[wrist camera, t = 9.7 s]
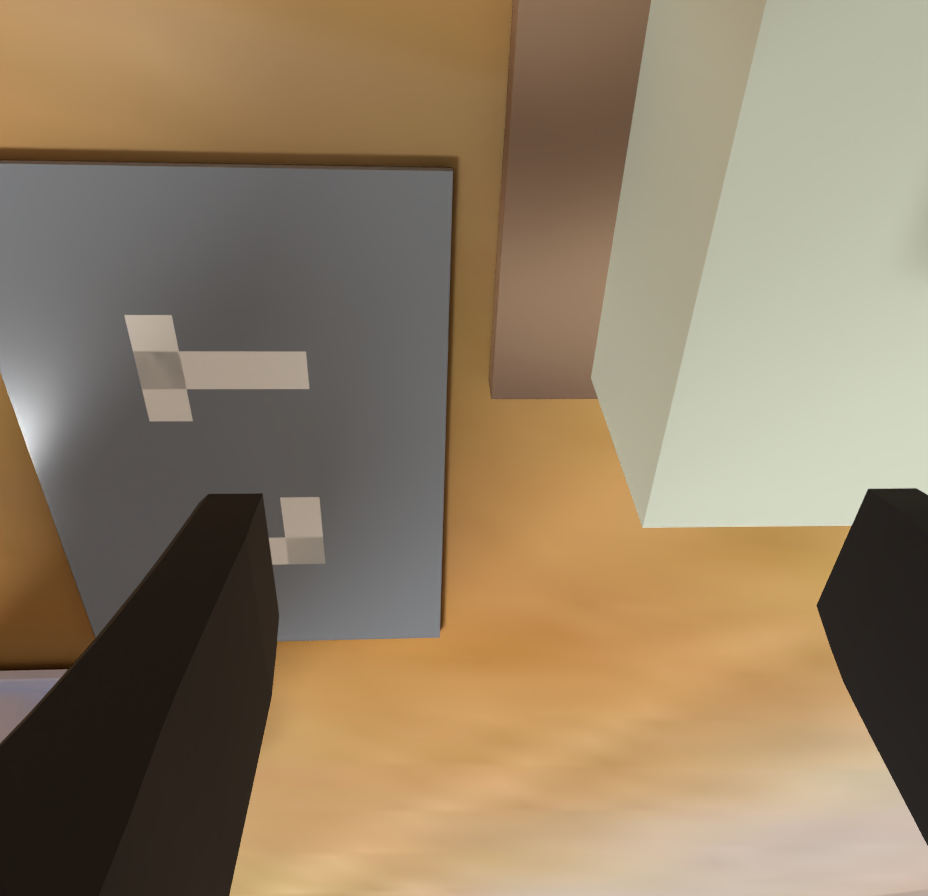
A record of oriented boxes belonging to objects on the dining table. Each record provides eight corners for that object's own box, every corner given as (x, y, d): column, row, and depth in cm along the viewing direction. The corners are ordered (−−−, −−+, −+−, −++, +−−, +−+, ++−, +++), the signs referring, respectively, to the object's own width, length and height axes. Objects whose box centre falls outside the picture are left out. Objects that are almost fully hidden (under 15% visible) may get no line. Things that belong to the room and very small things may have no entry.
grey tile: (439, 632, 25) (439, 637, 24) (100, 640, 24) (97, 645, 24) (452, 168, 16) (453, 171, 16) (-71, 159, 16) (-76, 162, 15)
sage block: (824, 379, 19) (936, 524, 15) (591, 378, 18) (642, 527, 14) (991, -82, 13) (1238, -48, 9) (666, -98, 13) (783, -69, 9)
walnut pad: (893, 380, 20) (909, 398, 19) (488, 380, 19) (491, 398, 19) (1098, -114, 14) (1132, -111, 13) (522, -139, 13) (528, -137, 13)
